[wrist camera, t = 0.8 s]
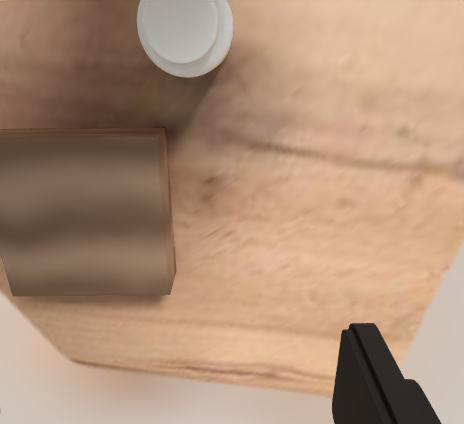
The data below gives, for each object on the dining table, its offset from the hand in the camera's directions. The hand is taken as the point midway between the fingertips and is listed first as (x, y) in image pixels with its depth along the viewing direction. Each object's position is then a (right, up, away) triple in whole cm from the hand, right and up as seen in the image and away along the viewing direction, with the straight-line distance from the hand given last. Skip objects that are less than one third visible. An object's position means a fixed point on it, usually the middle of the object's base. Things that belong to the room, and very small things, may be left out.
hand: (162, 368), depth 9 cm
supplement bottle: (-1, +18, +19) cm, 26 cm away
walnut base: (-11, +5, +24) cm, 27 cm away
